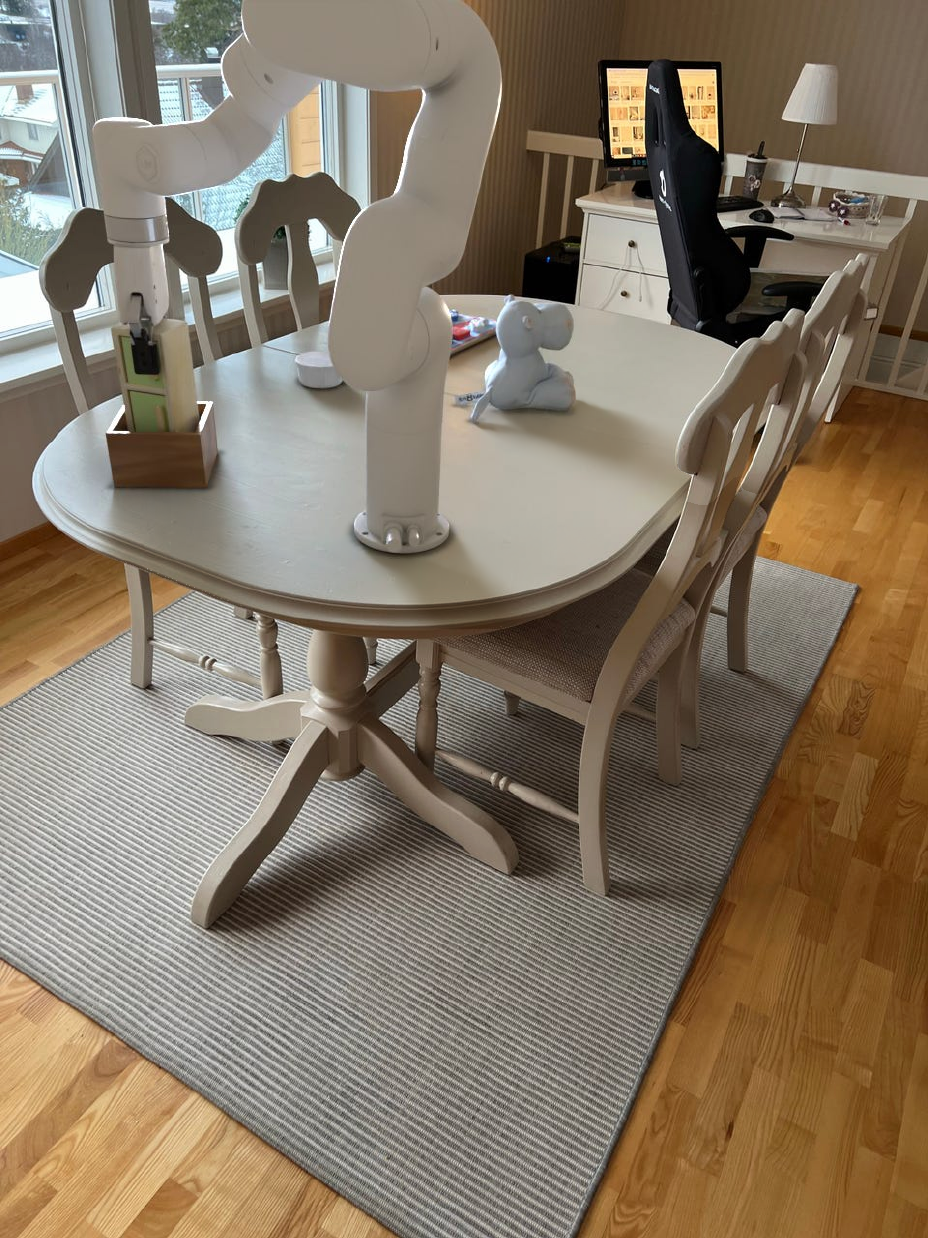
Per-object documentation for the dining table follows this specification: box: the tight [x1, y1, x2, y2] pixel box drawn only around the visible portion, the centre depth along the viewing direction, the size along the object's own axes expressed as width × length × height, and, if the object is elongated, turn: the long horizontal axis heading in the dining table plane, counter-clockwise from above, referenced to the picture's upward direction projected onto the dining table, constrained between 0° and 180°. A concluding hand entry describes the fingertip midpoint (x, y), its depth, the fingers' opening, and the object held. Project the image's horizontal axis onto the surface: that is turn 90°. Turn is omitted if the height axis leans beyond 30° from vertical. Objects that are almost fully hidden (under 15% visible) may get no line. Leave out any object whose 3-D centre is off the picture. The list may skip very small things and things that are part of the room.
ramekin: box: [294, 350, 343, 389], centre depth 170 cm, size 9×9×4 cm
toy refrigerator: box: [110, 318, 200, 433], centre depth 131 cm, size 8×7×21 cm
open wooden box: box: [105, 401, 219, 489], centre depth 135 cm, size 13×13×8 cm
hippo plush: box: [454, 294, 577, 422], centre depth 164 cm, size 18×23×18 cm
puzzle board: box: [449, 309, 497, 357], centre depth 198 cm, size 30×23×3 cm
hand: (154, 362), depth 128 cm, fingers closed on toy refrigerator, 8 cm apart
